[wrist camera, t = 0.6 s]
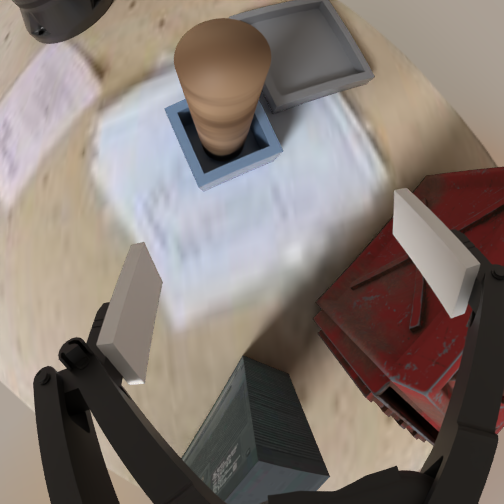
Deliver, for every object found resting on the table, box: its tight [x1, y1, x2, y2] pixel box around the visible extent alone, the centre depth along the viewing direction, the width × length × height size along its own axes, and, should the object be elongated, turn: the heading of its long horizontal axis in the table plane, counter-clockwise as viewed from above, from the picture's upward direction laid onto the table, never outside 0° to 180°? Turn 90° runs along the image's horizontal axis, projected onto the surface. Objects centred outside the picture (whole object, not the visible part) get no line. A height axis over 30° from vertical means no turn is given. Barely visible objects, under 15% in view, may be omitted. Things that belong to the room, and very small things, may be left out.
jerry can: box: [313, 167, 504, 446], centre depth 29 cm, size 30×16×25 cm, turn 136°
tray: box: [229, 0, 375, 114], centre depth 34 cm, size 14×14×3 cm
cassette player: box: [181, 356, 330, 504], centre depth 32 cm, size 29×7×20 cm, turn 152°
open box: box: [165, 99, 283, 192], centre depth 33 cm, size 9×9×7 cm
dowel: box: [174, 18, 271, 161], centre depth 25 cm, size 5×5×22 cm
